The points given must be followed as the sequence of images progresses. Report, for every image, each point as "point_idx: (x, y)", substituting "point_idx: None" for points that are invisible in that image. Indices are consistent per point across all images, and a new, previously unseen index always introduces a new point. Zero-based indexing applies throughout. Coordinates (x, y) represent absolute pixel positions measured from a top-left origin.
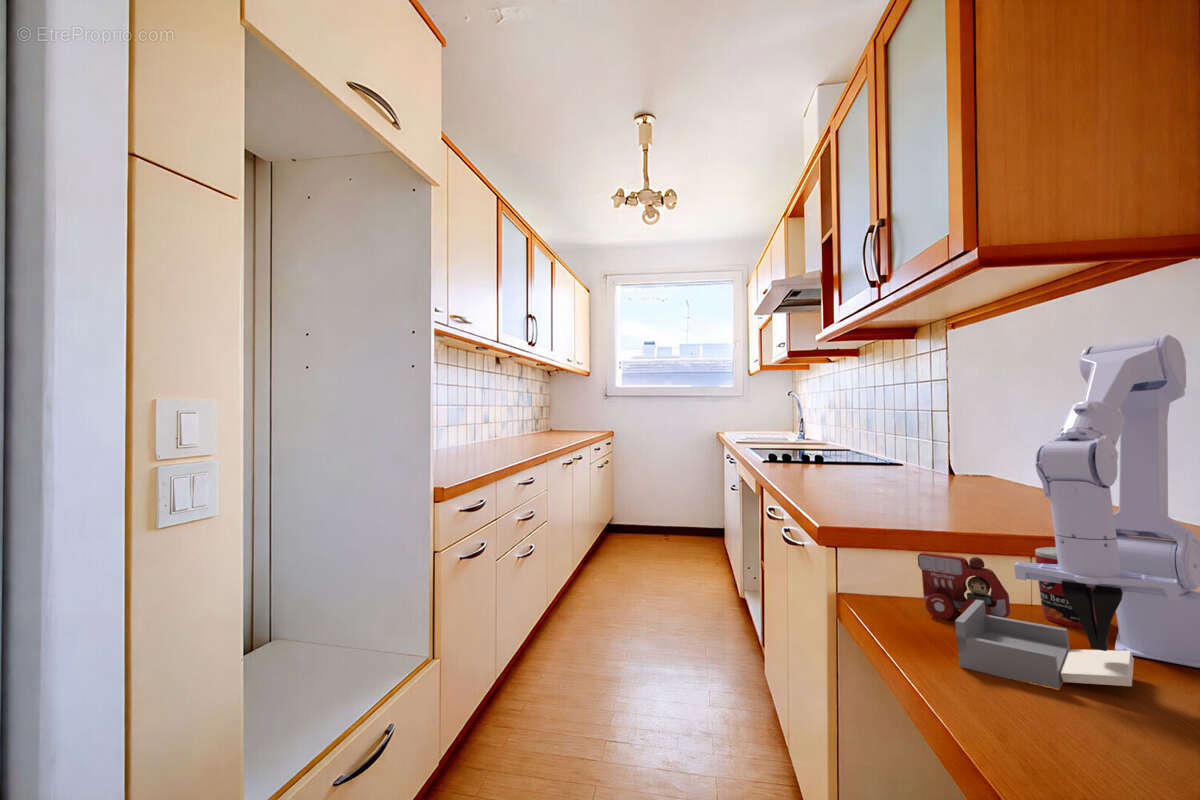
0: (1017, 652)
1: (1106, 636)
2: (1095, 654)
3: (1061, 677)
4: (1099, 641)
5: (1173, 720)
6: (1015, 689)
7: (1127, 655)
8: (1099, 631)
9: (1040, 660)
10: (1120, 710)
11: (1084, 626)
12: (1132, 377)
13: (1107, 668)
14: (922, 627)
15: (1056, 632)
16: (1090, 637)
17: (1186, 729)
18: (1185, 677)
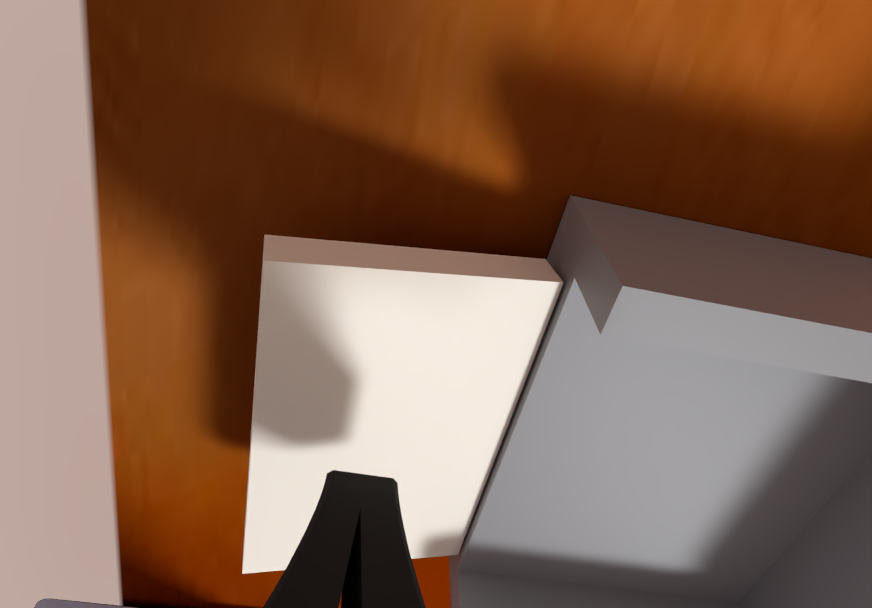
0: (803, 310)
1: (302, 542)
2: None
3: None
4: (348, 511)
5: (147, 98)
6: (783, 113)
7: (254, 529)
8: (333, 570)
9: (686, 274)
10: (346, 97)
11: (414, 595)
12: None
13: (347, 370)
14: None
15: None
16: (391, 528)
17: (95, 6)
18: (128, 532)
